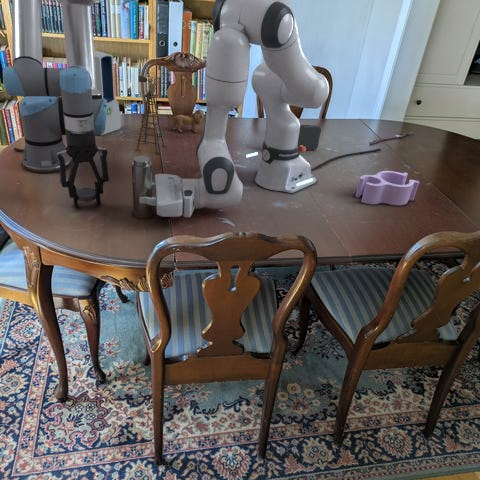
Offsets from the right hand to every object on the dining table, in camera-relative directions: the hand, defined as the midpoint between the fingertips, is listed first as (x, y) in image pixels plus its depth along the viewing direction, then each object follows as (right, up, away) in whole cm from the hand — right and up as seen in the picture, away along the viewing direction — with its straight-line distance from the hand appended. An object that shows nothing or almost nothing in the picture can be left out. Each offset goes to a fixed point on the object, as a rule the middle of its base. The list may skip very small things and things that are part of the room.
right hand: (139, 193), depth 134 cm
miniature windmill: (-5, +22, +45) cm, 51 cm away
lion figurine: (+6, +33, +65) cm, 73 cm away
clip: (+79, +1, +28) cm, 83 cm away
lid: (-16, 0, +2) cm, 16 cm away
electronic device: (-27, +32, +57) cm, 70 cm away
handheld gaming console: (+50, +24, +57) cm, 80 cm away
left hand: (-16, -3, +4) cm, 17 cm away
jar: (0, -5, +4) cm, 7 cm away
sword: (+98, +33, +79) cm, 130 cm away
